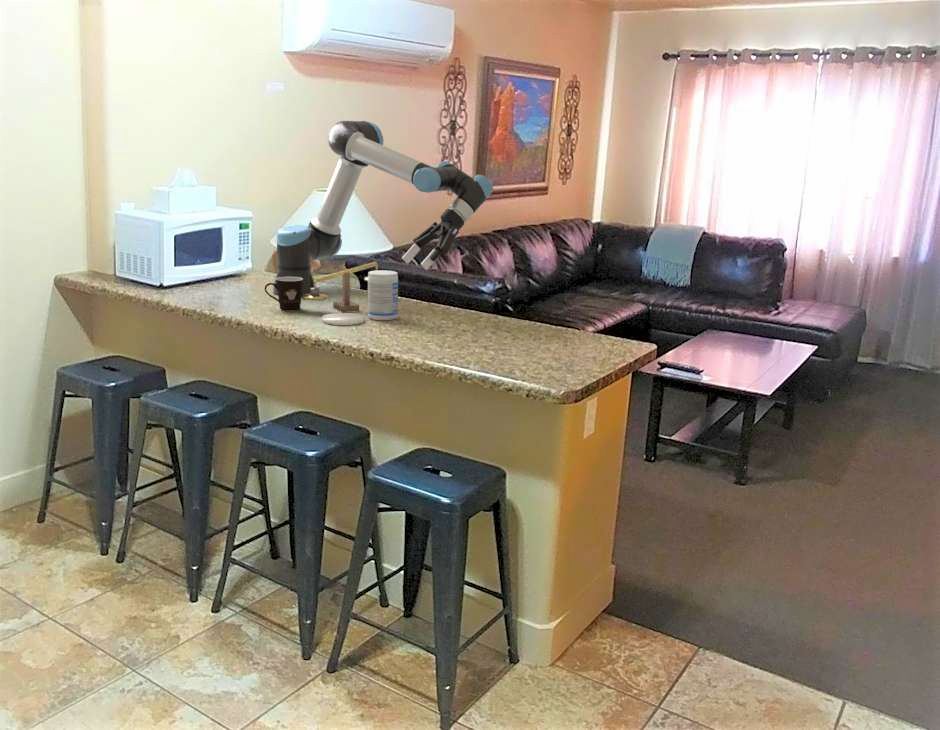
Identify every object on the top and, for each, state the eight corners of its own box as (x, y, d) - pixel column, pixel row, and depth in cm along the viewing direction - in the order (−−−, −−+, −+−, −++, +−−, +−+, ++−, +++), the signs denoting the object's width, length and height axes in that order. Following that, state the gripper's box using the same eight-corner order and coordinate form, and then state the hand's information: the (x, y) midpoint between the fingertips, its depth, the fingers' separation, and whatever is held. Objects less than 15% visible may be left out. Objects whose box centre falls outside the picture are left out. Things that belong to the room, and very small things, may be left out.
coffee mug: (306, 307, 297) (306, 277, 294) (299, 312, 288) (298, 281, 286) (272, 305, 298) (271, 275, 295) (264, 310, 289) (263, 279, 287)
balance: (299, 310, 291) (298, 263, 287) (382, 304, 306) (382, 259, 302) (307, 315, 285) (306, 267, 281) (392, 308, 299) (392, 263, 295)
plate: (315, 318, 280) (315, 314, 280) (354, 315, 287) (354, 311, 286) (330, 327, 269) (330, 323, 269) (370, 323, 276) (370, 320, 275)
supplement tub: (399, 321, 281) (400, 274, 277) (369, 321, 279) (369, 274, 275) (395, 314, 290) (395, 269, 286) (366, 315, 288) (366, 269, 284)
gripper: (482, 228, 280) (439, 278, 277) (445, 219, 301) (404, 265, 298) (468, 211, 276) (424, 261, 273) (431, 203, 297) (390, 250, 294)
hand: (413, 264), depth 285 cm, fingers open, 13 cm apart
